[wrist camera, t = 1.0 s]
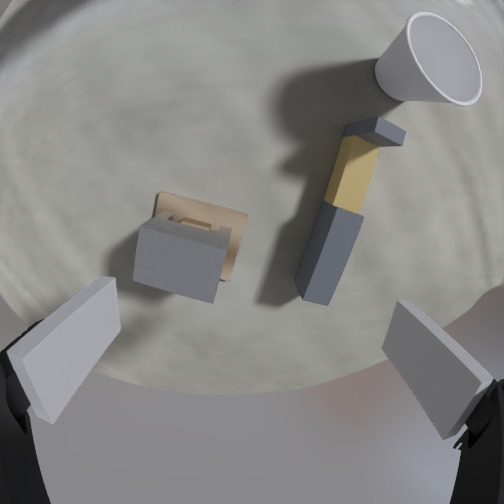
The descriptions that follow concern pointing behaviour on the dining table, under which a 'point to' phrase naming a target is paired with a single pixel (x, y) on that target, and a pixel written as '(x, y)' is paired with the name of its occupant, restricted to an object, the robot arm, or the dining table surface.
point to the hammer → (343, 208)
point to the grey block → (180, 257)
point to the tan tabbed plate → (206, 221)
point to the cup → (430, 64)
